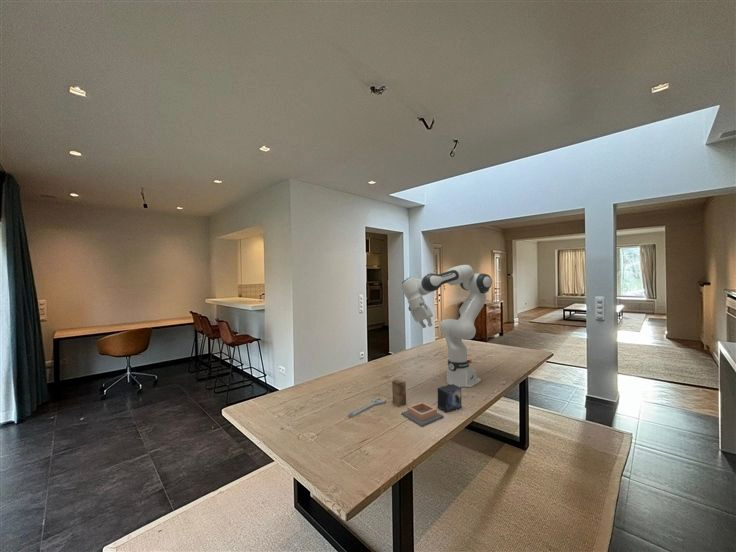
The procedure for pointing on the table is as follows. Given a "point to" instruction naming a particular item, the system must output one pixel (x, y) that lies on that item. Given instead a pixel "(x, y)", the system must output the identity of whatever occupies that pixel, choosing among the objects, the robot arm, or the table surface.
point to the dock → (422, 414)
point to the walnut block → (399, 392)
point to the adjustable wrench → (367, 407)
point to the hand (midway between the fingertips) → (427, 327)
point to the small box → (449, 398)
